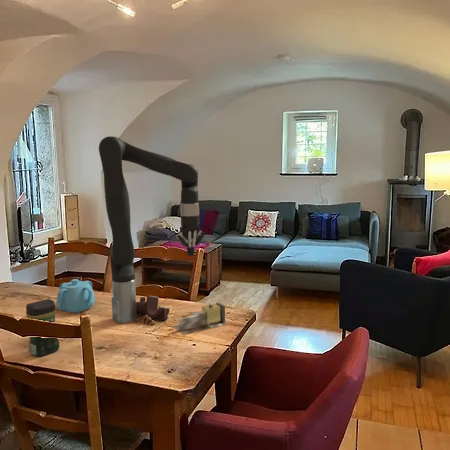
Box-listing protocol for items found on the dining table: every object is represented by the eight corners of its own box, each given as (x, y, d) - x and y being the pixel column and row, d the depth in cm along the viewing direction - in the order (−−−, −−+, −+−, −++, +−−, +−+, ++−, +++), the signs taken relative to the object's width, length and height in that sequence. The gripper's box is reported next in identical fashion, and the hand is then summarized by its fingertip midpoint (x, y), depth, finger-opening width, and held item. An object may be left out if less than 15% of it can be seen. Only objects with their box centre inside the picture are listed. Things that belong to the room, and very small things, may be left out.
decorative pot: (60, 304, 213) (58, 275, 211) (96, 301, 216) (95, 273, 213) (54, 317, 197) (52, 286, 195) (93, 314, 200) (91, 283, 197)
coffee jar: (52, 344, 170) (48, 295, 166) (62, 350, 164) (59, 300, 161) (25, 352, 163) (21, 302, 160) (35, 359, 157) (31, 307, 154)
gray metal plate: (197, 320, 192) (197, 317, 192) (190, 315, 197) (190, 313, 197) (213, 316, 196) (213, 314, 196) (206, 312, 201) (206, 309, 201)
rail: (183, 337, 175) (183, 317, 173) (172, 328, 183) (171, 309, 182) (228, 326, 185) (228, 307, 184) (215, 318, 193) (215, 300, 192)
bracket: (161, 319, 186) (163, 294, 188) (131, 319, 195) (133, 295, 198) (171, 320, 191) (173, 296, 193) (141, 320, 200) (143, 297, 203)
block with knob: (207, 324, 183) (207, 307, 181) (202, 320, 186) (201, 304, 185) (220, 320, 186) (220, 304, 185) (214, 317, 189) (214, 301, 188)
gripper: (199, 211, 193) (200, 252, 196) (171, 214, 187) (172, 256, 189) (208, 213, 187) (209, 255, 190) (179, 216, 180) (180, 259, 183)
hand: (190, 255), depth 190 cm, fingers closed
